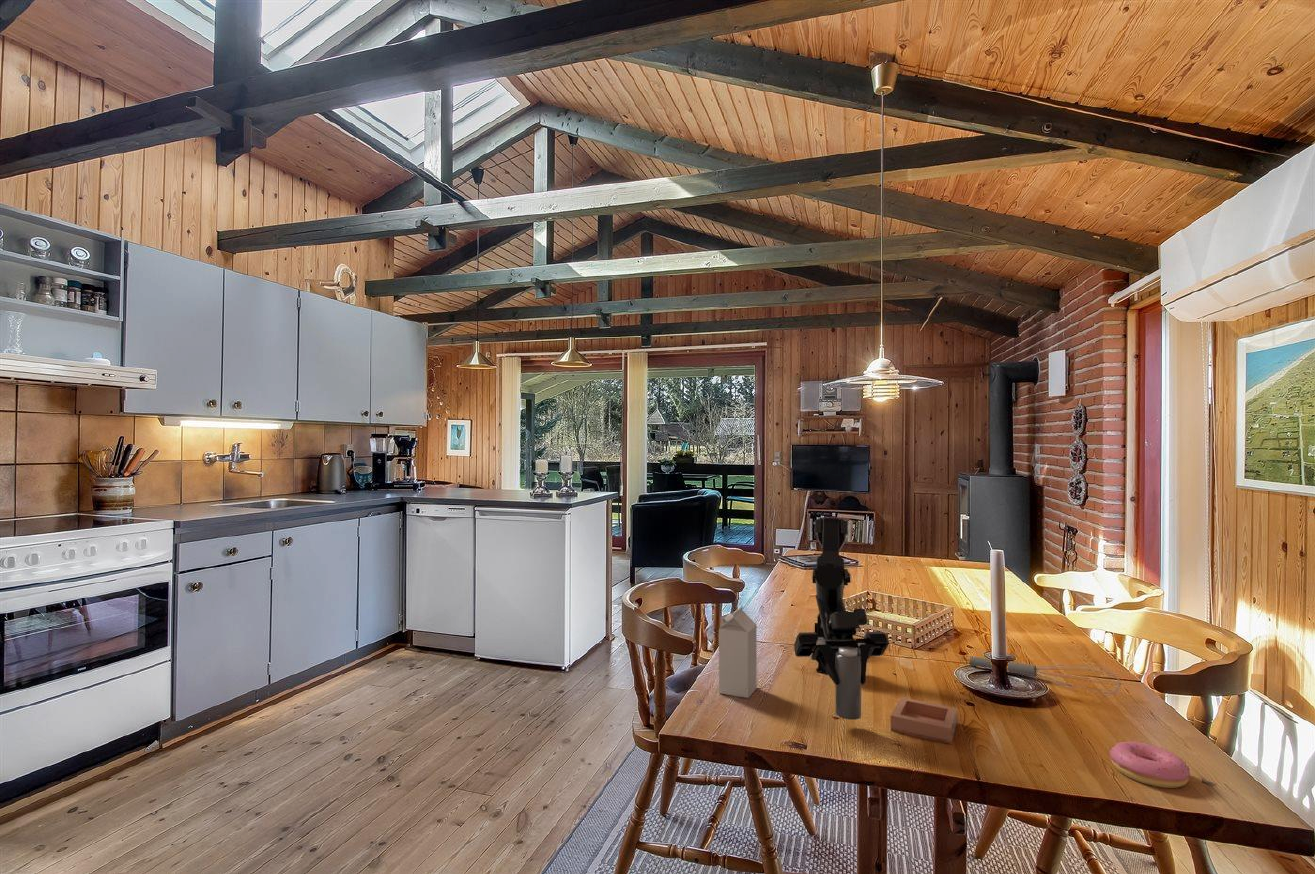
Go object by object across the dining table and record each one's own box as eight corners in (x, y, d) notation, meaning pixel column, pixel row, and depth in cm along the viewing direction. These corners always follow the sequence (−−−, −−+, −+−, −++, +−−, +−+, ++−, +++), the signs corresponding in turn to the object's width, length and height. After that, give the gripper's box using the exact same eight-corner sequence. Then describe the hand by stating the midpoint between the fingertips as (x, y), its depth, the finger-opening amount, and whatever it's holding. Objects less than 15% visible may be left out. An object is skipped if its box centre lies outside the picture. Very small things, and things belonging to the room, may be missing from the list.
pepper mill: (832, 715, 122) (832, 650, 123) (839, 706, 127) (839, 644, 127) (857, 721, 120) (857, 655, 120) (863, 712, 124) (863, 648, 124)
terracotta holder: (890, 730, 122) (890, 715, 122) (900, 710, 132) (900, 696, 132) (951, 744, 116) (951, 728, 116) (957, 722, 126) (957, 708, 126)
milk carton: (756, 688, 144) (756, 607, 145) (748, 699, 138) (748, 614, 138) (728, 683, 147) (728, 604, 148) (718, 693, 141) (718, 611, 141)
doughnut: (1130, 788, 102) (1130, 763, 102) (1097, 756, 112) (1097, 733, 112) (1206, 796, 99) (1206, 770, 99) (1165, 762, 110) (1164, 739, 110)
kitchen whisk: (965, 661, 163) (965, 637, 164) (1122, 696, 141) (1122, 668, 141) (958, 667, 159) (958, 643, 159) (1120, 704, 136) (1120, 675, 137)
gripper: (797, 594, 127) (812, 665, 116) (885, 593, 128) (908, 665, 117) (788, 621, 135) (801, 690, 124) (871, 620, 136) (892, 690, 124)
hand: (850, 683), depth 122 cm, fingers closed on pepper mill, 5 cm apart
